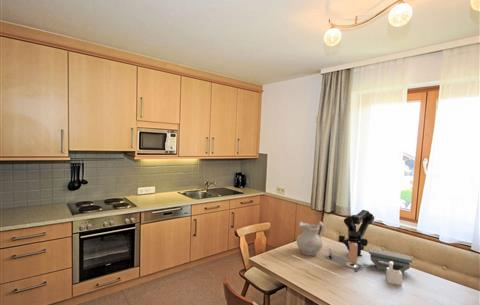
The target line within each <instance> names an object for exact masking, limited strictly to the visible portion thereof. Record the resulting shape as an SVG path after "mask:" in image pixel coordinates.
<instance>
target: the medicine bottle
mask: <svg viewBox="0 0 480 305" xmlns="http://www.w3.org/2000/svg"><path fill="white" fill-rule="evenodd" d="M385 278H386V280H387V282H388V284H393V285H397V286H403V272H402V273H401V271H400V264H399V263H397V262H394V261H390V262H389V267H387V270H386V271H385Z"/></svg>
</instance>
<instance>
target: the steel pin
mask: <svg viewBox="0 0 480 305" xmlns="http://www.w3.org/2000/svg"><path fill="white" fill-rule="evenodd" d="M333 250H334V249H332V248H329V249H328V256H329V257H332V255H334V253H333V252H334V251H333Z"/></svg>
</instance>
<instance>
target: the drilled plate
mask: <svg viewBox="0 0 480 305" xmlns="http://www.w3.org/2000/svg"><path fill="white" fill-rule="evenodd" d="M325 259H326V260H328V261H330V262H331V261H332V262H334V263H336V264H338V265H341V266H344V267H347V268H348V269H352V270H353V272H355V273H356V272H359V271H360V270H362V268H364V265H362V264H359V263H358V262H357V263H355V262H349V260H348V259H346V258H343V257H341V256H338V255H336V254H333V255H332V257H329V255H328V256H327V257H325Z"/></svg>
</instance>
